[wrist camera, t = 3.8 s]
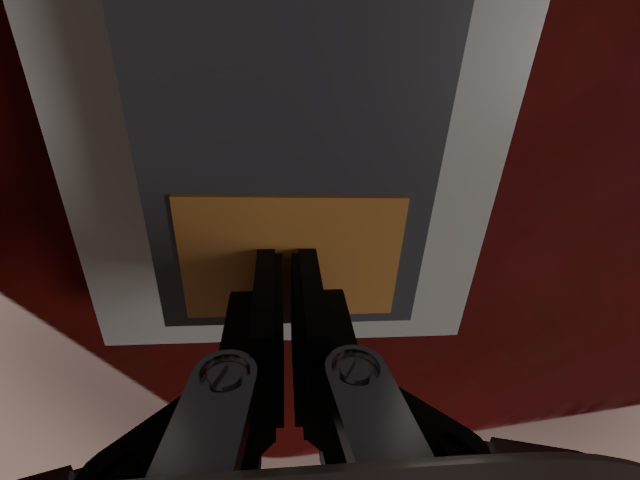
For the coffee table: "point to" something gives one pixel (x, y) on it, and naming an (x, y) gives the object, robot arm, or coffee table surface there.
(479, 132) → the switch box
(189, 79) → the rocker switch
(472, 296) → the coffee table surface
